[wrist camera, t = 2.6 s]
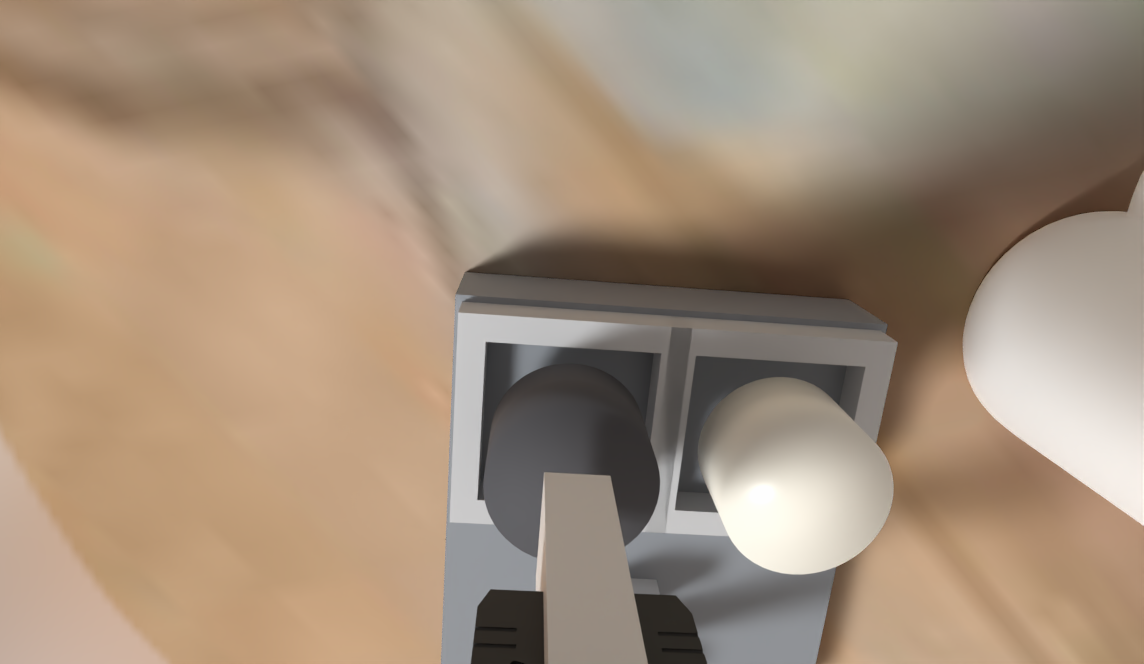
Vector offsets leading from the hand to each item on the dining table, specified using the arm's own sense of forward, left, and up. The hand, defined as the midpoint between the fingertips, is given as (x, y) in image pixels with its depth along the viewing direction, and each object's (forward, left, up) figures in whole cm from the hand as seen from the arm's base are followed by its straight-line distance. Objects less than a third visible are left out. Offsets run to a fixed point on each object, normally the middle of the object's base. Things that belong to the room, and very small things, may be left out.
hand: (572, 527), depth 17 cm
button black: (0, 0, -5) cm, 5 cm away
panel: (+4, +3, -9) cm, 11 cm away
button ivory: (0, +6, -5) cm, 8 cm away
